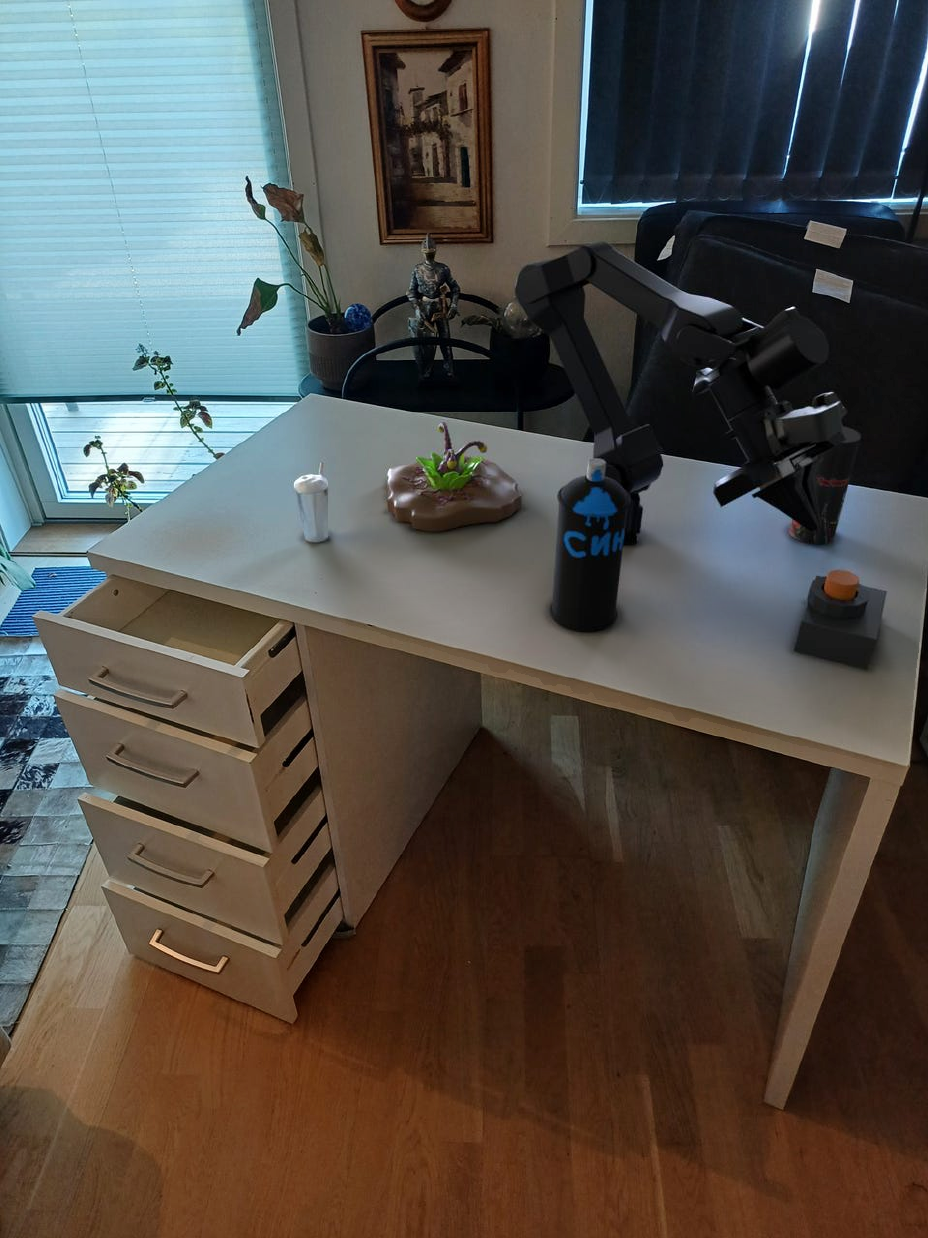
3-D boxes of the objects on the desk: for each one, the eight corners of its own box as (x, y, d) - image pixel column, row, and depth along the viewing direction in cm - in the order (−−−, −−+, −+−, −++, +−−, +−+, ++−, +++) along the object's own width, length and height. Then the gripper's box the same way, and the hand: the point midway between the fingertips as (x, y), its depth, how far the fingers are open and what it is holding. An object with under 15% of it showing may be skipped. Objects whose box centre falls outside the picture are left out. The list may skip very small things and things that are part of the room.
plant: (491, 462, 145) (492, 395, 139) (536, 517, 130) (539, 444, 124) (370, 479, 140) (365, 410, 134) (402, 538, 125) (398, 463, 119)
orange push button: (852, 604, 101) (857, 588, 100) (821, 596, 102) (825, 580, 101) (856, 589, 104) (861, 573, 103) (825, 582, 105) (829, 566, 104)
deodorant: (836, 546, 123) (864, 444, 115) (791, 542, 124) (815, 440, 116) (831, 526, 128) (857, 426, 119) (787, 522, 129) (810, 423, 120)
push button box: (867, 670, 100) (881, 626, 97) (792, 650, 103) (803, 607, 100) (877, 620, 108) (891, 577, 105) (807, 603, 111) (818, 561, 108)
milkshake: (342, 530, 127) (336, 465, 121) (321, 548, 123) (315, 481, 117) (314, 524, 128) (308, 459, 123) (293, 541, 124) (285, 474, 119)
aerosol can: (544, 596, 113) (553, 447, 101) (609, 593, 113) (625, 445, 102) (555, 634, 106) (566, 479, 95) (624, 631, 107) (643, 476, 95)
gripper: (758, 394, 91) (832, 530, 90) (850, 354, 101) (917, 476, 101) (682, 443, 100) (749, 567, 99) (774, 401, 110) (835, 513, 110)
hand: (816, 529), depth 102 cm, fingers closed
